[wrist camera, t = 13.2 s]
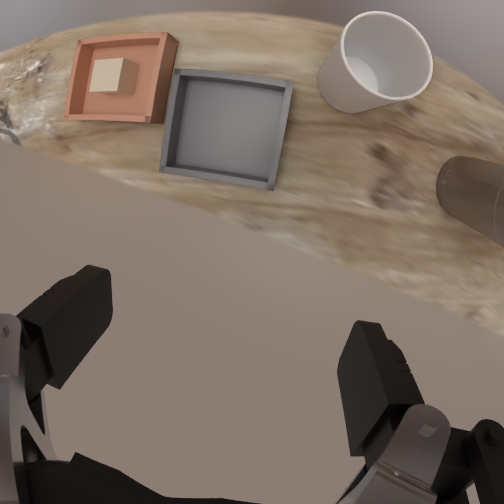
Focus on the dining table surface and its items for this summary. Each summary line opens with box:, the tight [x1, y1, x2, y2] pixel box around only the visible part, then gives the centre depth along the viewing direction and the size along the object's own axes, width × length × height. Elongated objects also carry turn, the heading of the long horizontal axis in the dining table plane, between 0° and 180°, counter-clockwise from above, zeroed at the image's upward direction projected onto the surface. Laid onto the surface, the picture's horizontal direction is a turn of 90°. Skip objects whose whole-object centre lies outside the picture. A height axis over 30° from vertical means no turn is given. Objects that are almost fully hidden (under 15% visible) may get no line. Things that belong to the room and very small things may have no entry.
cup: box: [318, 11, 433, 113], centre depth 26 cm, size 8×8×16 cm
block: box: [89, 58, 139, 95], centre depth 32 cm, size 4×4×5 cm
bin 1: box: [64, 32, 179, 124], centre depth 33 cm, size 14×12×4 cm
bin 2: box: [159, 69, 294, 191], centre depth 35 cm, size 14×13×4 cm
